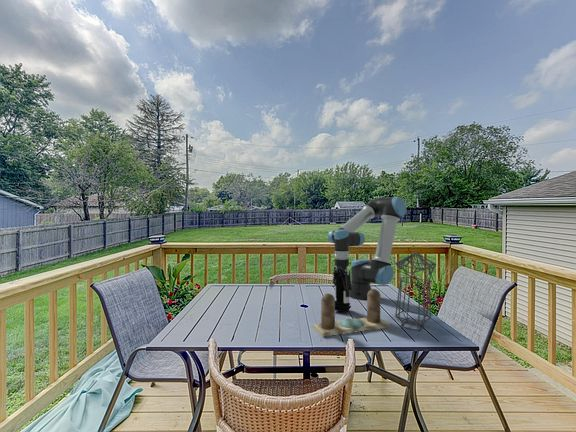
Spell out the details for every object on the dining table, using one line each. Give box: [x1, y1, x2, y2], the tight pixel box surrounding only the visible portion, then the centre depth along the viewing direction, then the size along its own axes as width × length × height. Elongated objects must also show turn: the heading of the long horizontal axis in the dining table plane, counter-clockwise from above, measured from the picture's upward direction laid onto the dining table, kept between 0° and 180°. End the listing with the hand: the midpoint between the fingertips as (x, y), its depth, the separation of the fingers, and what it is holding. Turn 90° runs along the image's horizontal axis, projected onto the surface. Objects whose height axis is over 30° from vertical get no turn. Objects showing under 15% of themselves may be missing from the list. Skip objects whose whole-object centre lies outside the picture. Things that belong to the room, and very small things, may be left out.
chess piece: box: [332, 270, 352, 313], centre depth 162 cm, size 8×8×20 cm
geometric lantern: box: [394, 251, 437, 332], centre depth 141 cm, size 16×16×35 cm
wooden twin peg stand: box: [312, 288, 390, 338], centre depth 139 cm, size 34×11×17 cm, turn 109°
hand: (341, 300), depth 162 cm, fingers closed on chess piece, 9 cm apart
